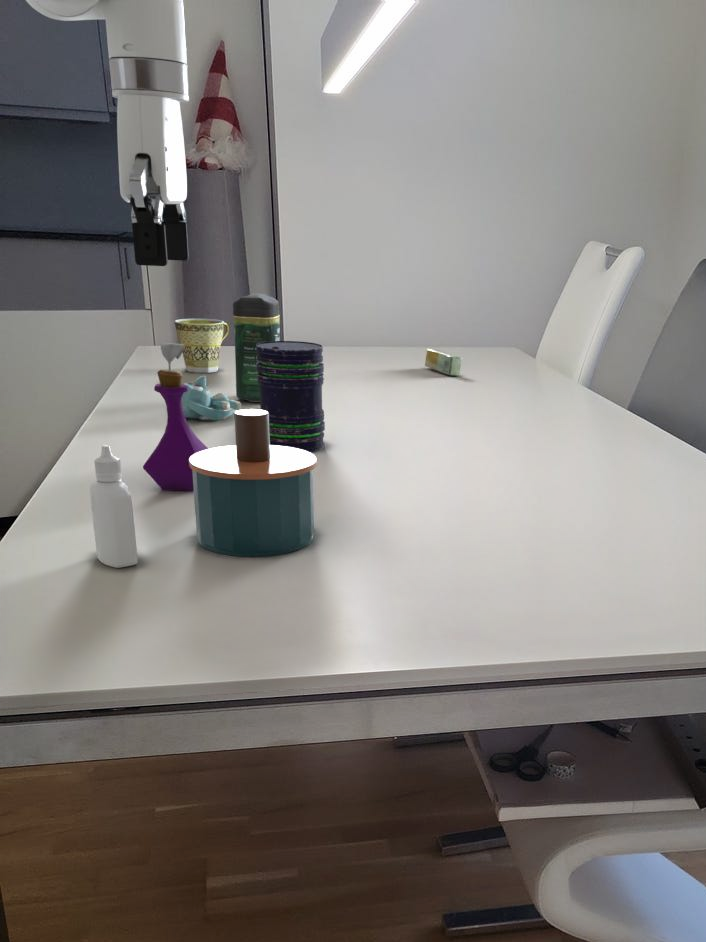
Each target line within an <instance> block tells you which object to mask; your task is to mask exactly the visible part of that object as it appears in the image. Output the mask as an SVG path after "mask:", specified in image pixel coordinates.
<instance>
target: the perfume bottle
mask: <svg viewBox="0 0 706 942" xmlns="http://www.w3.org/2000/svg"><path fill="white" fill-rule="evenodd" d="M183 348H184V345H183V344H180V343H175V342H169V343H168V342H167V343H162V344H160V351H161V354H162V356H163V358H164V360H166V362H167V364H168V369H160V370H158V371H157V372H156V373H157V377H158V380H159V383H156V384H155V385H154V388H153V390H154V392H156V393H159V394H160V396H161V397H162V399H163V400H164V402H165V406H166V413H167V414H166V416H167V417H166V418H167V421H166V426H165V430H164V433H163V435H162V436H161V438H160V440H159V442H158V444H157V446H156V447H155V449H154V450H153V452H152V453H151V454H150V455H149V457H148V458H147V460H146V461H145V462H144V464H143V465H142V468H143V470H144V471H145V472H146V474H148V475H149V476H150V478H151V479H152V480H153V481H154V482H155V483H156V484H157V486H158V487H159V488H160V489H161V490H164V491H181V492H185V491H186V492H194V486H193V472H192V469H191V468H190V466H189V458H190V457H191V456H192V455H193V454H195V453H197V452H200V451H203V450H207V449H209V448H208V447H207V446H206V445H205V443H203V442H202V441H201V439H200V438H199V437H198V436H197V435H196V434H195V433H194V431H192V428H191V427H190V425H189V424H188V422H187V418H186V417H185V416H184V412H183V408H182V401H181V399H182V396H183V394H184V392H187V391H188V386H187V385H185V384H186V383H183V374H182V373H181V372H179V371H177V370H172V368H171V367H172V366H171V364H172V362H173V361H174V360H175V359H177V360H179V359H180V358H181V355H183V353H182V351H183Z"/></svg>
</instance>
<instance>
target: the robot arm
mask: <svg viewBox="0 0 706 942" xmlns="http://www.w3.org/2000/svg"><path fill="white" fill-rule="evenodd" d="M25 2H26V3H27V4H28V5H29V6H30V7H31V8H33V10H35V11H37V13H39V14H41V15H43V16H44V17H47V18H49V19H52V20H56V21H63V22H68V21H69V22H70V21H71V22H72V21H73V22H74V21H75V22H76V21H91V20H92V21H93V20H95V21H96V20H105V30H106V39H107V52H108V64H109V74H110V85H111V86H110V87H111V95H112V98H116V99H117V106H116V108H117V110H116V126H117V127H116V132H117V133H116V135H117V136H116V138H117V157H118V158H117V159H118V179H119V193H120V194H119V195H120V197H121V198H122V200H123V201H125V202H126V203H130V205H131V212H130V219H131V229H132V241H133V251H134V261H135V264H136V265H138V266H145V267H147V266H149V267H166V266H167V265H168V263H169V261H181V262H182V261H184V262H186V261H188V260H189V259H190V253H189V237H188V222H187V212H186V208H185V201H186V200H187V197H188V176H187V175H188V174H187V164H186V162H187V161H186V160H187V159H186V149H185V139H184V138H185V137H184V130H183V129H184V128H183V125H184V124H183V118H182V111H181V103H189V102H190V89H189V75H188V59H187V45H186V29H185V13H184V0H25Z"/></svg>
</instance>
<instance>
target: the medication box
mask: <svg viewBox="0 0 706 942" xmlns="http://www.w3.org/2000/svg"><path fill="white" fill-rule="evenodd" d="M462 361H463V357H460V356H457V355H454V354H450V353H448V352H445V351H441V350H438V349H433V348H427V349H426V355H425V362H424V367H427V368H429V369H432V370H435V371H436V372H437V371H438V372H440V373H442V374H446V375H448V376H452V377H460V375H461V367H462Z"/></svg>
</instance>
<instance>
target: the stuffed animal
mask: <svg viewBox="0 0 706 942" xmlns="http://www.w3.org/2000/svg"><path fill="white" fill-rule="evenodd" d="M207 379H208V378H207V376H206V375H201V376H199V377H198V378H196V379H195V381H194V383H192V382H186V383H184V384H185V385H187V386H188V391H187V392H184V394H183V396H182V399H181V401H182V408H183V412H184V416H185V419H199V418H202V417H204V418H205V419H208V420H211V421H215V422H216V421H221V420H225V419H227V418H229V417H231V416H232V415H233V414H234V413H233V412H234V411H238V410H242V409H241V408H242V403H241V402H240V401H237V400H235V399H228V397H227V395H226V394H225V393H223V392H218V393H216V394H214V395H212V396H211V393H210V387H208V386H207Z"/></svg>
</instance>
